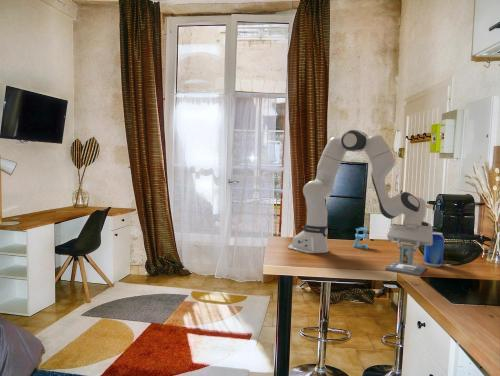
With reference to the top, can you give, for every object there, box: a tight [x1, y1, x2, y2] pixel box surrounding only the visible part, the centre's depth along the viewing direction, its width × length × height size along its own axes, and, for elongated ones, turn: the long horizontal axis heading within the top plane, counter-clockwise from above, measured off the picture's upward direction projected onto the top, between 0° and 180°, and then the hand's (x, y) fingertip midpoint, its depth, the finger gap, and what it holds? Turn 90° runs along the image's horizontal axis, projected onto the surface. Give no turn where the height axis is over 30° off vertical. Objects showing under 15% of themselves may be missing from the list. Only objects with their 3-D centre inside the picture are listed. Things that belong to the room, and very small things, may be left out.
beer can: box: [423, 231, 445, 268], centre depth 193 cm, size 8×8×16 cm
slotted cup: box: [398, 243, 415, 266], centre depth 183 cm, size 5×5×8 cm
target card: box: [385, 260, 427, 277], centre depth 183 cm, size 15×16×1 cm
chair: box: [352, 226, 369, 250], centre depth 228 cm, size 8×8×12 cm
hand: (406, 249), depth 182 cm, fingers closed on slotted cup, 5 cm apart
